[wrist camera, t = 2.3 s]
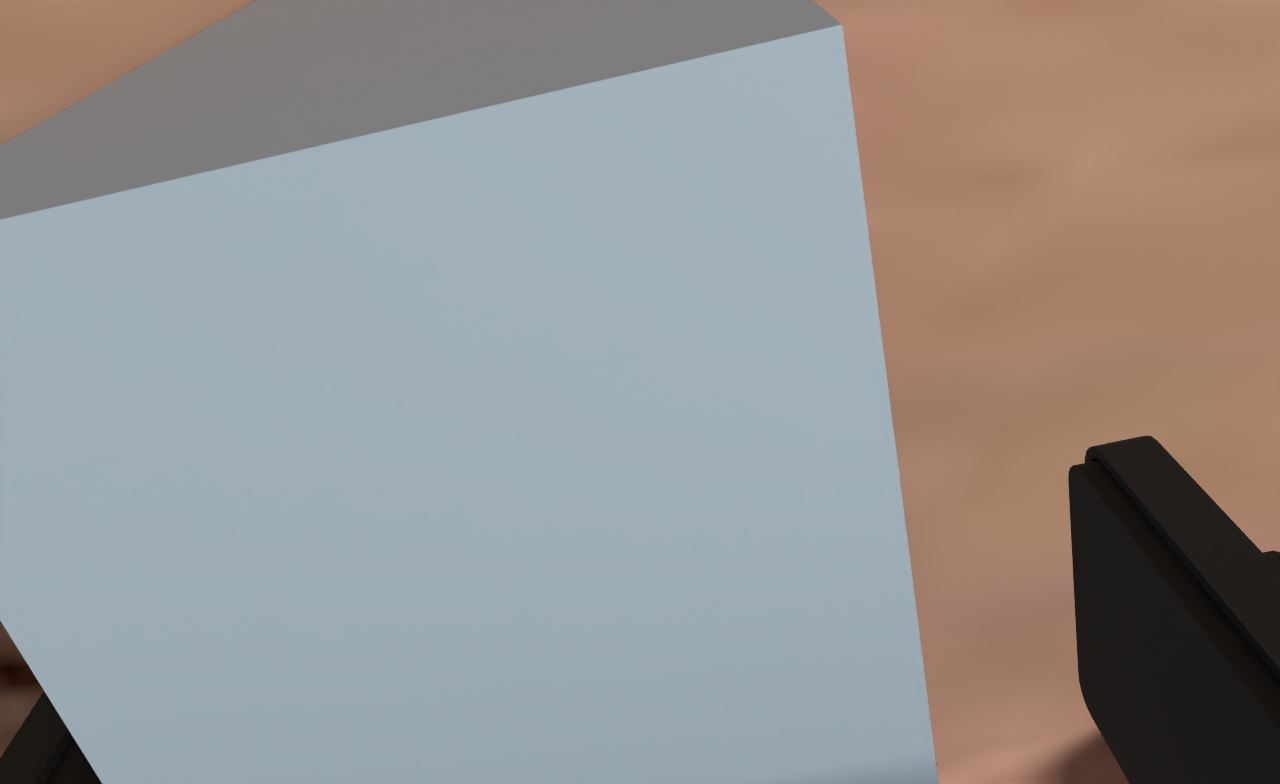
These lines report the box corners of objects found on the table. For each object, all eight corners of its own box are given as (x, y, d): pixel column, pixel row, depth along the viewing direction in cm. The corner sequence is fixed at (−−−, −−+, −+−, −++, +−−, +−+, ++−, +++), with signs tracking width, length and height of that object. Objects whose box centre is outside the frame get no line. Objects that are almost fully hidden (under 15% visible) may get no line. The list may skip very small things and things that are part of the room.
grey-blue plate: (309, -30, 13) (-221, 270, 5) (670, -117, 13) (843, 23, 4) (553, 694, 19) (526, 1462, 10) (812, 643, 19) (1014, 1386, 10)
